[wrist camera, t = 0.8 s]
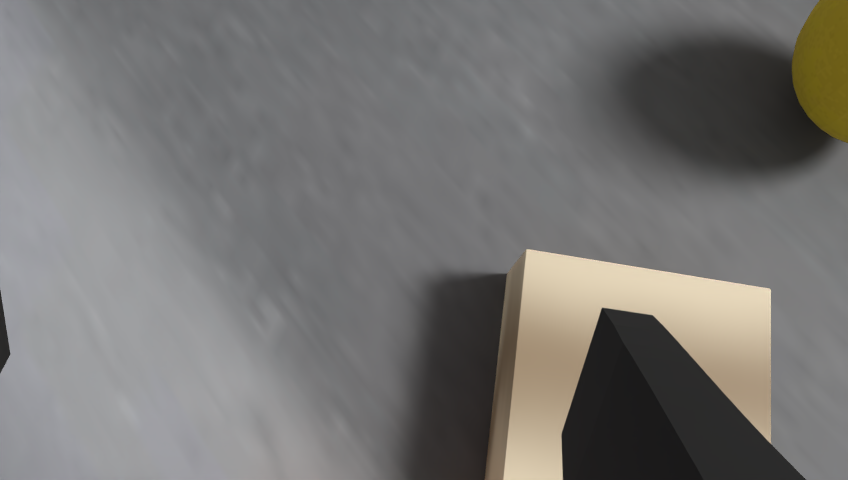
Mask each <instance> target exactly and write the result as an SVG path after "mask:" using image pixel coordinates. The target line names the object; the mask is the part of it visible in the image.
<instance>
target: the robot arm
mask: <svg viewBox="0 0 848 480" xmlns="http://www.w3.org/2000/svg"><path fill="white" fill-rule="evenodd" d="M9 356H10V350H9V343H8V337H7V330H6V324H5V317H4V311H3V304H2V298H1V292H0V373H1V371H2V369H3V367H4V365H5V363H6V361H7V359H8V358H9ZM561 439H562V470H563V480H806V479H805V478H804V477H803V476H802V475H801V474H800V473H799V472H798V471H797V470H796V469H795V468H794V467H793V466H792V465H791V464H790V463H789V462H788V461H787V460H786V459H785V458H784V457H783V456H782V455H781V454H780V453H779V452H778V451H777V450H776V449H775V448H774V447H773V446H772V445H771V444H770V442H769V441H768V440H767V439H766V438H765V437H764V436H763V435H762V434H761V433H760V432H759V431H758V430H757V429H756V428H755V427H754V425H753V424H752V423H751V422H750V421H749V420H748V419H747V418H746V417H745V416H744V415H743V414H742V413H741V411H740V410H739V409H738V408H737V407H736V406H735V405H734V404H733V403H732V402H731V400H730V399H729V398H728V397H727V396H726V395H725V394H724V393H723V392H722V391H721V389H720V388H719V387H718V386H717V385H716V384H715V383H714V382H713V380H712V379H711V378H710V377H709V376H708V375H707V374H706V373H705V371H704V370H703V369H702V368H701V367H700V366H699V365H698V364H697V362H696V361H695V360H694V359H693V358H692V357H691V356H690V355H689V353H688V352H687V351H686V350H685V349H684V348H683V347H682V346H681V345H680V343H679V342H678V341H677V340H676V339H675V338H674V337H673V336H672V335H671V333H670V332H669V331H668V330H667V329H666V328H665V327H664V326H663V325H662V324H661V323H660V322H659V321H658V320H657V319H656V318H655V317H654V316H653V315H649V314H642V313H635V312H629V311H622V310H615V309H609V308H602V309H601V312H600V315H599V318H598V321H597V325H596V328H595V331H594V334H593V337H592V340H591V343H590V346H589V350H588V353H587V356H586V359H585V362H584V365H583V368H582V371H581V374H580V378H579V381H578V384H577V387H576V390H575V393H574V396H573V399H572V402H571V406H570V409H569V412H568V415H567V418H566V421H565V424H564V427H563V430H562V434H561Z"/></svg>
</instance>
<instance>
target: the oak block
mask: <svg viewBox="0 0 848 480" xmlns="http://www.w3.org/2000/svg"><path fill="white" fill-rule="evenodd" d="M602 308H609V309H615V310H622V311H629V312H635V313H642V314H649V315H653V316H654V317H655V318H656V319H657V320H658V321H659V322H660V323H661V324H662V325H663V326H664V327H665V328H666V329H667V330H668V331H669V332H670V333H671V335H672V336H673V337H674V338H675V339H676V340H677V341H678V342H679V343H680V345H681V346H682V347H683V348H684V349H685V350H686V351H687V352H688V353H689V355H690V356H691V357H692V358H693V359H694V360H695V361H696V362H697V364H698V365H699V366H700V367H701V368H702V369H703V370H704V371H705V373H706V374H707V375H708V376H709V377H710V378H711V379H712V380H713V382H714V383H715V384H716V385H717V386H718V387H719V388H720V389H721V391H722V392H723V393H724V394H725V395H726V396H727V397H728V398H729V399H730V400H731V402H732V403H733V404H734V405H735V406H736V407H737V408H738V409H739V410H740V411H741V413H742V414H743V415H744V416H745V417H746V418H747V419H748V420H749V421H750V422H751V423H752V424H753V425H754V427H755V428H756V429H757V430H758V431H759V432H760V433H761V434H762V435H763V436H764V437H765V438H766V439H767V440H768V441H769V442H770V444H771V289H768V288H762V287H756V286H750V285H744V284H738V283H732V282H725V281H719V280H713V279H707V278H701V277H695V276H689V275H683V274H676V273H670V272H664V271H658V270H652V269H646V268H640V267H633V266H627V265H621V264H615V263H609V262H603V261H597V260H591V259H584V258H578V257H572V256H566V255H560V254H554V253H548V252H542V251H535V250H529V249H526V250H525V252H524V253H523V254H522V255H521V257H520V258H519V259H518V260H517V262H516V263H515V264H514V266H513V267H512V268H511V269H510V271H509V272H508V273H507V278H506V287H505V297H504V306H503V315H502V324H501V333H500V343H499V352H498V361H497V370H496V379H495V389H494V398H493V407H492V416H491V425H490V435H489V444H488V453H487V462H486V472H485V480H563V470H562V439H561V434H562V430H563V427H564V424H565V421H566V418H567V415H568V412H569V409H570V406H571V402H572V399H573V396H574V393H575V390H576V387H577V384H578V381H579V378H580V374H581V371H582V368H583V365H584V362H585V359H586V356H587V353H588V350H589V346H590V343H591V340H592V337H593V334H594V331H595V328H596V325H597V321H598V318H599V315H600V312H601V309H602Z"/></svg>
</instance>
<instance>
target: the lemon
mask: <svg viewBox="0 0 848 480" xmlns="http://www.w3.org/2000/svg"><path fill="white" fill-rule="evenodd" d="M792 77H793V86H794V89H795V92H796V95H797V98H798V101H799V103H800V105H801V106H802V108H803V109H804V111H805V113H806V114H807V116H808V117H809V118H810V119H811V120H812V121H813V122H814V123H815V124H816V125H817V126H818V127H819V128H820V129H822V130H823V131H825V132H826V133H827V134H829V135H830V136H832V137H834V138H836V139H839V140H841V141H844V142H846V143H848V0H820V1H819V2H818V3H817V5H816V6H815V7H814V9H813V10H812V12H811V14H810V15H809V17H808V19H807V21H806V22H805V24H804V26H803V28H802V30H801V31H800V34H799V36H798V38H797V41H796V45H795V50H794V55H793V60H792Z"/></svg>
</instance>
